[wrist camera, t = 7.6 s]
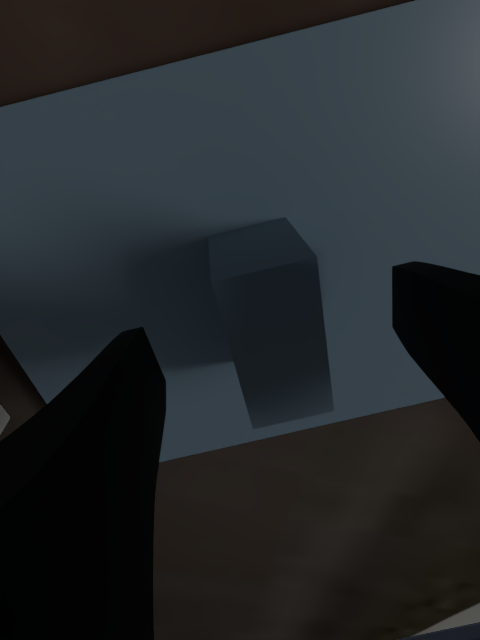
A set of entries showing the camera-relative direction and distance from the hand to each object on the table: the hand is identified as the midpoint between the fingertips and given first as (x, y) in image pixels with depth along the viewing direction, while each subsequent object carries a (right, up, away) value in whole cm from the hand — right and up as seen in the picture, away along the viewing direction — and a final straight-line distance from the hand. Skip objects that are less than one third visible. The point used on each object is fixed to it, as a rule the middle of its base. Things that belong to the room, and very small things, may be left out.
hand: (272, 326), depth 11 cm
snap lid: (0, +2, +4) cm, 4 cm away
